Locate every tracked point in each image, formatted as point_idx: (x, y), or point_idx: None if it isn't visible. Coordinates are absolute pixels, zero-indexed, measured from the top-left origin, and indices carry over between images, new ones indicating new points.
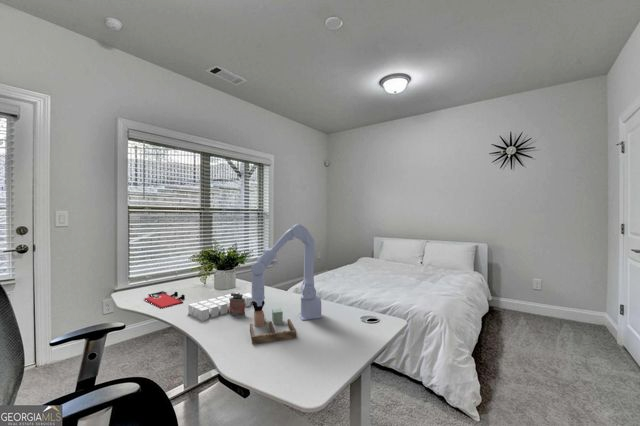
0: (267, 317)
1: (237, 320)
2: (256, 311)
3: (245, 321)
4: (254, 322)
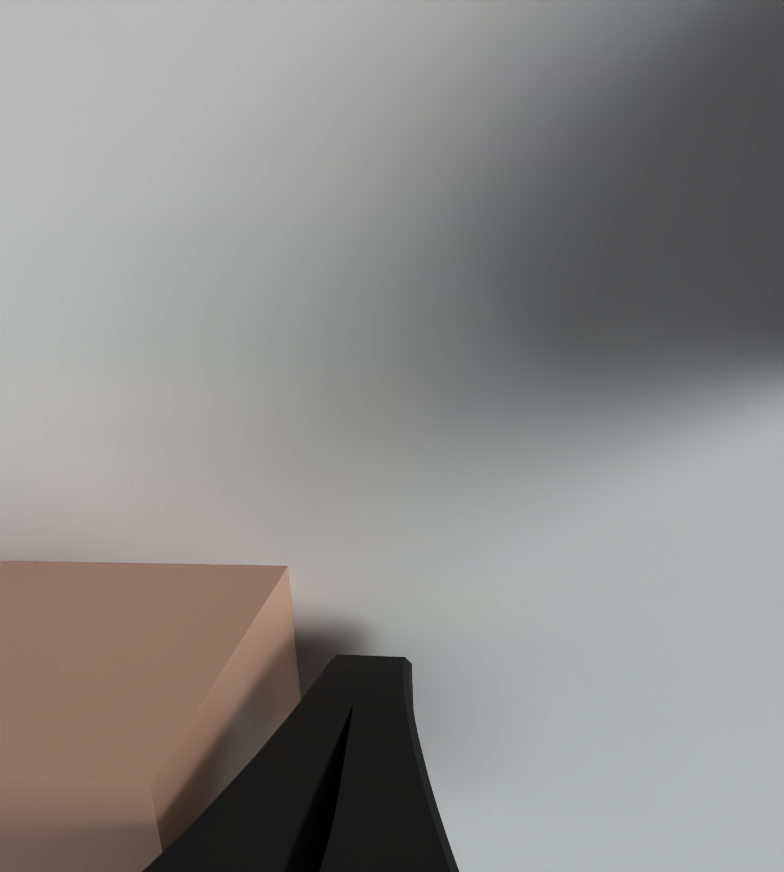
0: None
1: (447, 111)
2: (115, 864)
3: (307, 359)
4: (132, 573)
